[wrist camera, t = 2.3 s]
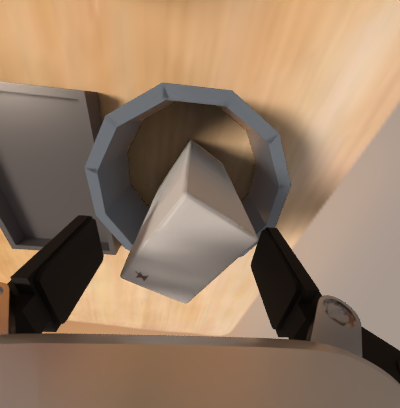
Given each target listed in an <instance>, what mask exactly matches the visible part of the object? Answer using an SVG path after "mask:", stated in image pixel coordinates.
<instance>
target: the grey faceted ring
mask: <svg viewBox="0 0 400 408" xmlns="http://www.w3.org/2000/svg"><path fill="white" fill-rule="evenodd" d="M176 101H182V102H191V103H200V104H209V105H217V106H218V107H219V108H221V109H222V110H223V111H224V112H225V113H226V114H228V115H229V116H230V117H231V118H232V119H234V120H235V121H236V122H237V123H238V124H239V125H241V126H242V127H243V128H244V129H245V130H246V132H247V135H248V138H249V142H250V145H251V148H252V151H253V155H254V158H255V161H256V165H255V169H254V173H253V177H252V181H251V185H250V189H249V193H248V194H247V195H246V196H245V198H244V199H243V200H242V201H241V203H242V205H243V207H244V209H245V212H246V214H247V216H248V218H249V220H250V222H251V224H252V226H253V228H254V231H255V233H256V235H257V237H258V240H259V237H260V234H261V231H262V230H264V229H265V228H266V227H270V228H275V226H276V224H277V221H278V218H279V216H280V213H281V210H282V208H283V205H284V202H285V200H286V197H287V195H288V192H289V189H290V187H291V183H290V179H289V174H288V170H287V165H286V160H285V156H284V151H283V147H282V142H281V137H280V133H279V132H278V131H276V130H275V129H274V128H273V127H272V126H271V125H270V124H269V123H268V122H266V121H265V120H264V119H263V118H262V117H261V116H260V115H259V114H258V113H256V112H255V111H254V110H253V109H252V108H251V107H250V106H249V105H248V104H247V103H245V102H244V101H243V100H242V99H241V98H240V97H239V96H238V95H237V94H235V93H234V92H233V91H232V90H223V89H214V88H205V87H197V86H188V85H179V84H170V83H161V84H159V85H157V86H156V87H154V88H152V89H150V90H149V91H147V92H145V93H143V94H142V95H140V96H138V97H137V98H135V99H133V100H131V101H130V102H128V103H126V104H124V105H123V106H121V107H119V108H118V109H116V110H114V111H112V112H111V113H109V114H107V115H106V116H105V118H104V120H103V123H102V125H101V128H100V130H99V133H98V135H97V138H96V140H95V143H94V145H93V148H92V150H91V153H90V155H89V158H88V160H87V163H86V165H85V167H84V168H85V172H86V176H87V181H88V185H89V189H90V193H91V198H92V202H93V206H94V210H95V215H96V216H97V217H98V218H99V220H100V221H101V222H102V223H103V224H104V225H105V226H106V227H107V228H108V230H109V231H110V232H111V233H112V234H113V235H114V236H115V237H116V238H117V240H118V241H119V242H120V243H121V244H122V245H123V246H124V247H125V248H126V249H128V250H130V251H131V248H132V246H133V244H134V242H135V240H136V238H137V236H138V233H139V231H140V229H141V227H142V224H143V222H144V220H145V218H146V215H147V213H148V211H149V209H148V208H147V206H146V205H145V203H144V202H143V200H142V199H141V198H140V196H139V195H138V193H137V192H136V191H135V189H134V188H133V186H132V185H131V182H130V172H129V163H128V153H127V151H128V149H129V147H130V145H131V143H132V141H133V139H134V137H135V135H136V133H137V131H138V129H139V127H140V125H141V123H142V121H143V119H145V118H147V117H149V116H150V115H152V114H154V113H156V112H158V111H160V110H161V109H163V108H165V107H167V106H169V105H171V104H172V103H174V102H176ZM258 240H257V242H256V243H254V244H253V245H252V246H251V247H250V248H248V249H247V250H246V251H245V252H244V253H243V254H242V255H241V256H244V255H245V254H246V253H247V252H248V251H249V250H251V249H252V248H253V247H254V246H255V245H256V244H257V243H258ZM241 256H239V257H241Z"/></svg>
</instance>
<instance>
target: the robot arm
mask: <svg viewBox="0 0 400 408" xmlns="http://www.w3.org/2000/svg"><path fill="white" fill-rule="evenodd" d="M102 261H103V251H102V246H101V242H100V237H99V233H98V228H97V224H96V220H95V219H93V218H92V216H86V215H78V216H77V217H76V218H75V219H74V220H73V221H71V222H70V223H69V224H68V225H67V226H66V227H65V228H64V229H63V230H62V231H61V232H59V233H58V234H57V235H56V236H55V237H54V238H53V239H52V240H51V241H50V242H49V243H47V244H46V245H45V246H44V247H43V248H42V249H41V250H40V251H39V252H38V253H36V254H35V255H34V256H33V257H32V258H31V259H30V260H29V261H28V262H27V263H26V264H24V265H23V266H22V267H21V268H20V269H19V270H18V271H17V272H16V273H15V274H14V275H12V276H11V277H10V278H11V281H10V282H9V283H8V284H5V283H1V282H0V408H400V351H399V350H398V349H396V348H395V347H393V346H392V345H390V344H388V343H387V342H385V341H384V340H382V339H380V338H379V337H377V336H376V335H374V334H373V333H371V332H369V331H368V330H366V329H364V328H363V327H361V322H360V319H359V317H358V315H357V314H356V313H355V311H354V310H353V309H352V308H351V307H350V306H348V305H347V304H346V303H345V302H343V301H342V300H340V299H338V298H336V297H333V296H328V295H327V296H322V295H321V293H320V292H319V289H318V288H317V286H316V285H315V283H314V282H313V280H312V279H311V277H310V276H309V274H308V273H307V272H306V270H305V269H304V267H303V266H302V264H301V263H300V261H299V260H298V258H297V257H296V255H295V254H294V252H293V251H292V249H291V248H290V247H289V245H288V244H287V242H286V241H285V239H284V238H283V236H282V235H281V233H280V232H279V230H278V229H277V228H270V227H266V228H265V229H264V230H262V231H261V234H260V237H259V240H258V243H257V247H256V250H255V253H254V256H253V259H252V262H251V269H252V272H253V275H254V277H255V280H256V283H257V286H258V289H259V292H260V295H261V297H262V300H263V303H264V306H265V309H266V312H267V314H268V317H269V320H270V323H271V326H272V328H273V329H276V332H277V335H278V337H288V338H289V339H270V338H241V337H207V336H166V335H117V334H116V335H115V334H114V335H113V334H41V333H42V332H56V331H57V329H58V328H59V326H60V325H61V324H63V323H65V321H66V320H67V319H68V317H69V315H70V314H71V312H72V311H73V309H74V307H75V306H76V304H77V302H78V301H79V299H80V297H81V296H82V294H83V292H84V291H85V289H86V287H87V286H88V284H89V283H90V281H91V279H92V278H93V276H94V274H95V273H96V271H97V269H98V268H99V266H100V264H101V263H102Z"/></svg>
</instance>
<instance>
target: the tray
mask: <svg viewBox="0 0 400 408" xmlns="http://www.w3.org/2000/svg"><path fill="white" fill-rule="evenodd" d="M101 125H102V118H101V112H100V106H99V100H98V94H97V92H90V91H81V90H72V89H63V88H54V87H45V86H36V85H26V84H17V83H8V82H0V228H1V230H2V231H3V233H4V235H5V237H6V238H7V240H8V242H9V244H10V245H11V247H12V249H28V250H41V249H42V248H43V247H44V246H45V245H46V244H47V243H49V242H50V241H51V240H52V239H53V238H54V237H55V236H56V235H57V234H58V233H59V232H61V231H62V230H63V229H64V228H65V227H66V226H67V225H68V224H69V223H70V222H71V221H73V220H74V219H75V218H76V217H77V216H78V215H86V216H92V218H93V219H95V220H96V224H97V228H98V233H99V237H100V242H101V246H102V251H103V254H110V255H116V253H117V252H118V250H119V248H120V246H121V243H120V242H119V241H118V240H117V238H116V237H115V236H114V235H113V234H112V233H111V232H110V231H109V230H108V228H107V227H106V226H105V225H104V224H103V223H102V222H101V221H100V220H99V218H98V217H97V216H96V215H95V210H94V206H93V202H92V198H91V193H90V189H89V185H88V181H87V176H86V172H85V168H84V167H85V165H86V163H87V160H88V158H89V155H90V153H91V150H92V148H93V145H94V143H95V140H96V138H97V135H98V133H99V130H100V128H101Z"/></svg>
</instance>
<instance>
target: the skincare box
mask: <svg viewBox="0 0 400 408" xmlns="http://www.w3.org/2000/svg"><path fill="white" fill-rule="evenodd" d="M257 240H258V237H257V235H256V233H255V231H254V228H253V226H252V224H251V222H250V220H249V218H248V216H247V214H246V212H245V209H244V207H243V205H242V203H241V201H240V199H239V197H238V195H237V193H236V190H235V188H234V186H233V184H232V182H231V180H230V177H229V175H228V173H227V171H226V169H225V167H224V165H223V163H222V162H221V161H219V160H218V159H216V158H215V157H214V156H213V155H211V154H210V153H209V152H207V151H206V150H205V149H204V148H202V147H201V146H200V145H198V144H197V143H196V142H194V141H193V140H190V141H189V142H188V144H187V145H186V147H185V148H184V150H183V151H182V153H181V154H180V156H179V157H178V159H177V160H176V162H175V163H174V165H173V166H172V168H171V169H170V171H169V172H168V174H167V175H166V177H165V178H164V180H163V181H162V183H161V184H160V186H159V188H158V191H157V193H156V195H155V197H154V199H153V202H152V204H151V206H150V209H149V211H148V213H147V215H146V218H145V220H144V222H143V224H142V227H141V229H140V231H139V233H138V236H137V238H136V240H135V242H134V244H133V246H132V248H131V251H130V253H129V255H128V258H127V260H126V262H125V265H124V267H123V270H122V272H121V275H120V276H121V278H123V279H125V280H127V281H130V282H132V283H135V284H137V285H140V286H142V287H145V288H147V289H150V290H152V291H154V292H157V293H159V294H162V295H164V296H167V297H169V298H172V299H174V300H177V301H180V302H183V303H188V302H189V301H190V300H191V299H193V298H194V297H195V296H196V295H197V294H198V293H199V292H200V291H201V290H203V289H204V288H205V287H206V286H207V285H208V284H209V283H210V282H211V281H213V280H214V279H215V278H216V277H217V276H218V275H219V274H220V273H222V272H223V271H224V270H225V269H226V268H227V267H228V266H229V265H230V264H232V263H233V262H234V261H235V260H236V259H237V258H238V257H239V256H241V255H242V254H243V253H244V252H245V251H246V250H247V249H248V248H250V247H251V246H252V245H253V244H254V243H256V242H257Z"/></svg>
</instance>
